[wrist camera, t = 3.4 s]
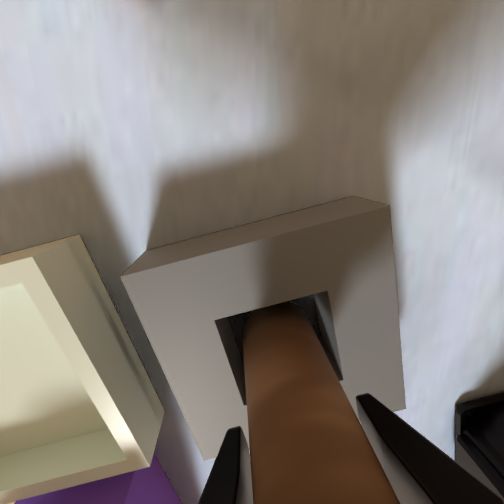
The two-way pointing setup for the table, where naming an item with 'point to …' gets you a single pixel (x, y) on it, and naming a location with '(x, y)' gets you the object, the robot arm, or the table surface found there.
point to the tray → (67, 377)
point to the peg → (303, 419)
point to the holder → (269, 293)
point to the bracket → (116, 490)
